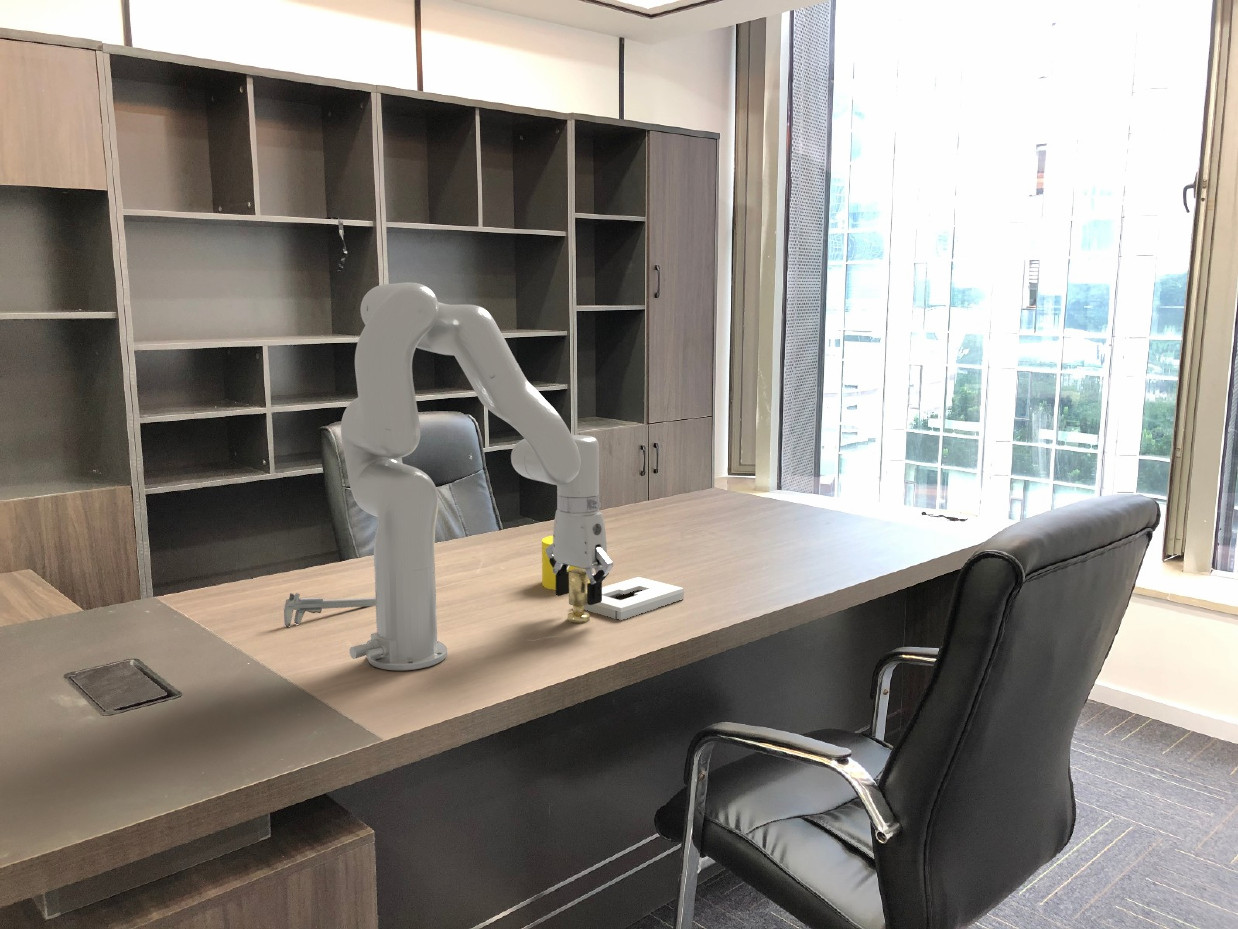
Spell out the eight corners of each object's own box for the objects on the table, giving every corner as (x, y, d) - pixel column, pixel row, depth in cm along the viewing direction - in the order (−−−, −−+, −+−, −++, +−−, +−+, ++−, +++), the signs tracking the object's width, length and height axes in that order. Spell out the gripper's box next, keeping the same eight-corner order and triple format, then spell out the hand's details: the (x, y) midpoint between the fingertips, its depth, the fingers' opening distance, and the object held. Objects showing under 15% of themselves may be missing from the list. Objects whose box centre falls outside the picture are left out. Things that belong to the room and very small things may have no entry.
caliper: (287, 629, 169) (286, 595, 168) (284, 628, 170) (282, 594, 169) (384, 604, 184) (383, 572, 183) (381, 603, 185) (379, 571, 184)
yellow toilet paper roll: (560, 575, 204) (559, 532, 203) (599, 582, 199) (599, 538, 198) (532, 586, 196) (532, 541, 195) (573, 593, 191) (572, 547, 189)
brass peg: (578, 624, 171) (578, 575, 170) (563, 620, 174) (562, 571, 172) (594, 619, 174) (593, 571, 173) (578, 615, 177) (578, 567, 175)
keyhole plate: (621, 620, 174) (621, 608, 173) (575, 607, 182) (575, 595, 181) (683, 599, 186) (683, 588, 186) (638, 588, 195) (638, 576, 194)
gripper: (627, 507, 168) (627, 604, 170) (560, 495, 179) (560, 585, 182) (598, 514, 162) (598, 613, 165) (530, 500, 174) (531, 593, 177)
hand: (578, 598), depth 173 cm, fingers open, 7 cm apart
